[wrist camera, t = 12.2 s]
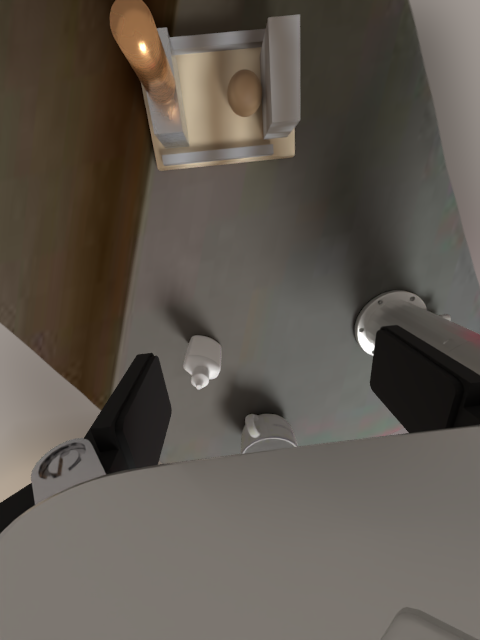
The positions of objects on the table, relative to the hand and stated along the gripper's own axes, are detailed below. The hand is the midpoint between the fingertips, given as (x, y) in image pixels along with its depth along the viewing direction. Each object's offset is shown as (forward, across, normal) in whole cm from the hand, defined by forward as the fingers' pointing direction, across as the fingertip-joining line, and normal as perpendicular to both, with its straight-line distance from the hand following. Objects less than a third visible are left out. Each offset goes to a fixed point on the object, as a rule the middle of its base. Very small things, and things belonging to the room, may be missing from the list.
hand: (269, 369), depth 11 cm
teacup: (+31, -2, +33) cm, 45 cm away
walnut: (+29, -2, -19) cm, 35 cm away
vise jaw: (+29, +6, -19) cm, 35 cm away
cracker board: (+30, 0, -19) cm, 36 cm away
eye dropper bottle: (+31, +7, +14) cm, 34 cm away
